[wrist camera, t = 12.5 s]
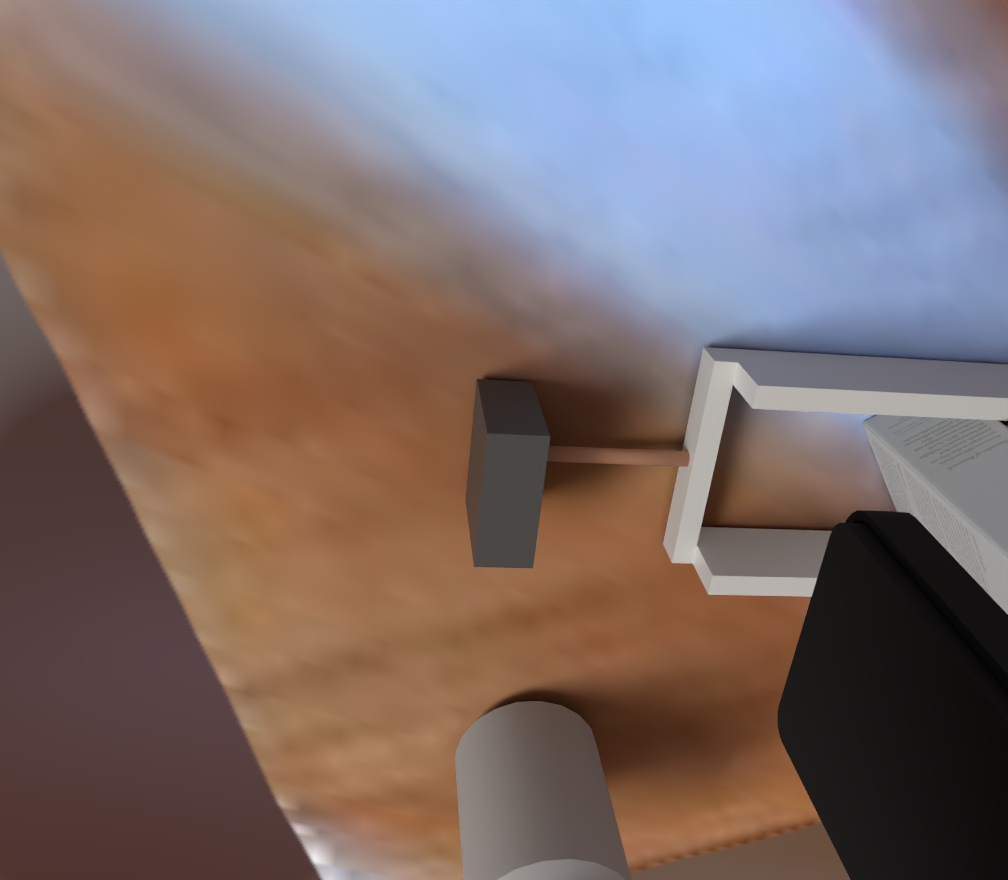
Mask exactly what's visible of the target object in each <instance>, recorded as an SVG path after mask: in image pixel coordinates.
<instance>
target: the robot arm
mask: <svg viewBox="0 0 1008 880" xmlns="http://www.w3.org/2000/svg"><path fill="white" fill-rule="evenodd" d="M778 729H779V734H780V738H781V740H782V743H783V745H784V747H785V749H786V751H787V753H788V755H789V757H790V759H791V761H792V763H793V765H794V767H795V769H796V771H797V773H798V775H799V777H800V779H801V781H802V783H803V785H804V787H805V789H806V791H807V793H808V795H809V797H810V799H811V801H812V803H813V805H814V807H815V809H816V811H817V813H818V815H819V817H820V819H821V821H822V823H823V825H824V827H825V829H826V831H827V833H828V835H829V837H830V839H831V841H832V843H833V845H834V847H835V849H836V851H837V853H838V855H839V857H840V859H841V861H842V863H843V865H844V867H845V869H846V871H847V873H848V875H849V877H850V879H851V880H1008V614H1007V613H1006V612H1005V611H1004V610H1003V609H1002V608H1001V607H1000V606H999V605H998V604H997V603H996V602H995V601H994V600H993V599H992V598H991V596H990V595H989V594H988V593H987V592H986V591H985V590H984V589H983V588H982V587H981V586H980V585H979V584H978V583H977V582H976V581H975V580H974V579H973V577H972V576H971V575H970V574H969V573H968V572H967V571H966V570H965V569H964V568H963V567H962V566H961V565H960V564H959V563H958V562H957V561H956V560H955V559H954V557H953V556H952V555H951V554H950V553H949V552H948V551H947V550H946V549H945V548H944V547H943V546H942V545H941V544H940V543H939V542H938V541H937V540H936V538H935V537H934V536H933V535H932V534H931V533H930V532H929V531H928V530H927V529H926V528H925V527H924V526H923V525H922V524H921V523H920V522H919V521H918V519H917V518H916V517H914V516H913V515H911V514H910V513H906V512H888V511H856V512H854V513H852V514H851V515H850V516H849V517H848V519H847V520H846V523H839V524H837V525H836V526H835V527H834V528H833V529H832V532H831V534H830V537H829V540H828V544H827V547H826V550H825V554H824V557H823V560H822V564H821V567H820V570H819V574H818V577H817V580H816V584H815V587H814V590H813V594H812V597H811V600H810V604H809V607H808V611H807V614H806V617H805V621H804V624H803V627H802V631H801V634H800V637H799V641H798V644H797V647H796V651H795V654H794V657H793V661H792V664H791V667H790V671H789V674H788V677H787V681H786V684H785V688H784V691H783V694H782V698H781V701H780V704H779V709H778Z"/></svg>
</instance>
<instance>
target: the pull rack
mask: <svg viewBox="0 0 1008 880" xmlns="http://www.w3.org/2000/svg"><path fill="white" fill-rule="evenodd" d="M733 385H734V387H735V388H736V389H737V390H738V391H739V393H740V394H741V395H742V396H743V398H744V399H745V400H746V401H747V403H748V404H749V405H750V406H751V407H752V409H770V410H791V411H812V412H832V413H853V414H874V415H895V416H916V417H937V418H958V419H979V420H1000V421H1008V365H1007V364H990V363H972V362H955V361H937V360H919V359H902V358H884V357H867V356H849V355H831V354H814V353H796V352H779V351H761V350H743V349H726V348H708V347H703V352H702V357H701V362H700V366H699V371H698V376H697V381H696V386H695V391H694V396H693V401H692V405H691V410H690V415H689V420H688V425H687V430H686V435H685V439H684V444H683V449H682V451H671V450H647V449H622V448H598V447H574V446H549V443H550V433H549V430H548V427H547V424H546V421H545V418H544V415H543V412H542V409H541V406H540V403H539V400H538V397H537V394H536V391H535V388H534V385H533V382H526V381H506V380H486V379H477V382H476V393H475V404H474V415H473V426H472V437H471V448H470V459H469V470H468V481H467V492H466V508H467V515H468V523H469V531H470V539H471V547H472V555H473V563H474V567H504V568H533V563H534V555H535V548H536V540H537V533H538V525H539V518H540V510H541V503H542V495H543V488H544V480H545V473H546V465H547V462H573V463H599V464H625V465H651V466H677V467H679V469H678V474H677V478H676V483H675V488H674V493H673V498H672V503H671V508H670V513H669V517H668V522H667V527H666V532H665V537H664V542H663V545H664V547H665V549H666V551H667V553H668V556H669V558H670V560H671V562H672V563H693V565H694V567H695V569H696V571H697V573H698V575H699V577H700V579H701V581H702V583H703V585H704V587H705V589H706V591H707V593H708V595H759V596H811V597H812V594H813V590H814V587H815V584H816V580H817V577H818V574H819V570H820V567H821V564H822V560H823V557H824V554H825V550H826V547H827V544H828V540H829V537H830V534H831V532H832V531H820V530H786V529H752V528H718V527H701V525H702V520H703V516H704V511H705V507H706V502H707V498H708V494H709V489H710V485H711V480H712V476H713V471H714V467H715V462H716V458H717V453H718V449H719V445H720V440H721V436H722V431H723V427H724V422H725V418H726V413H727V409H728V405H729V400H730V396H731V391H732V387H733ZM1007 427H1008V425H1007Z"/></svg>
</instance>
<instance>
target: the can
mask: <svg viewBox="0 0 1008 880" xmlns="http://www.w3.org/2000/svg"><path fill="white" fill-rule="evenodd" d="M456 780H457V794H458V807H459V821H460V835H461V848H462V862H463V875H464V880H631V876H630V872H629V869H628V865H627V861H626V857H625V853H624V849H623V845H622V841H621V838H620V834H619V830H618V826H617V822H616V818H615V814H614V810H613V807H612V803H611V799H610V795H609V791H608V787H607V783H606V779H605V776H604V772H603V768H602V764H601V760H600V756H599V752H598V748H597V745H596V741H595V738H594V735H593V733H592V730H591V727H590V726H589V725H588V724H587V723H586V722H585V721H584V720H583V718H582V717H581V716H580V715H579V714H577V713H575V712H573V711H571V710H569V709H567V708H566V707H564V706H562V705H557V704H552V703H547V702H542V701H523V702H515V703H512V704H508V705H505V706H502V707H499V708H497V709H494V710H493V711H491V712H489V713H488V714H486V715H484V716H483V717H481V718H479V719H478V720H476V721H475V722H474V723H473V724H472V725H471V727H470V728H469V729H468V730H467V731H466V732H465V733H464V734H463V736H462V738H461V740H460V742H459V745H458V747H457V749H456Z"/></svg>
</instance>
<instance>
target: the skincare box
mask: <svg viewBox="0 0 1008 880" xmlns="http://www.w3.org/2000/svg"><path fill="white" fill-rule="evenodd" d="M863 426H864V429H865V431H866V434H867V436H868V439H869V442H870V444H871V447H872V449H873V452H874V455H875V457H876V460H877V462H878V465H879V468H880V470H881V473H882V475H883V478H884V480H885V483H886V486H887V488H888V491H889V493H890V496H891V498H892V501H893V503H894V506H895V508H896V511H897V512H906V513H910V514H911V515H913V516H914V517H916V518H917V519H918V521H919V522H920V523H921V524H922V525H923V526H924V527H925V528H926V529H927V530H928V531H929V532H930V533H931V534H932V535H933V536H934V537H935V538H936V540H937V541H938V542H939V543H940V544H941V545H942V546H943V547H944V548H945V549H946V550H947V551H948V552H949V553H950V554H951V555H952V556H953V557H954V559H955V560H956V561H957V562H958V563H959V564H960V565H961V566H962V567H963V568H964V569H965V570H966V571H967V572H968V573H969V574H970V575H971V576H972V577H973V579H974V580H975V581H976V582H977V583H978V584H979V585H980V586H981V587H982V588H983V589H984V590H985V591H986V592H987V593H988V594H989V595H990V596H991V598H992V599H993V600H994V601H995V602H996V603H997V604H998V605H999V606H1000V607H1001V608H1002V609H1003V610H1004V611H1005V612H1006V613H1007V614H1008V427H1007V426H1005V425H1004V424H1002V423H1001V422H1000V421H998V420H979V419H958V418H937V417H916V416H895V415H875V416H873V417H871V418H869V419H867V420H865V421H864V422H863Z"/></svg>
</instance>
